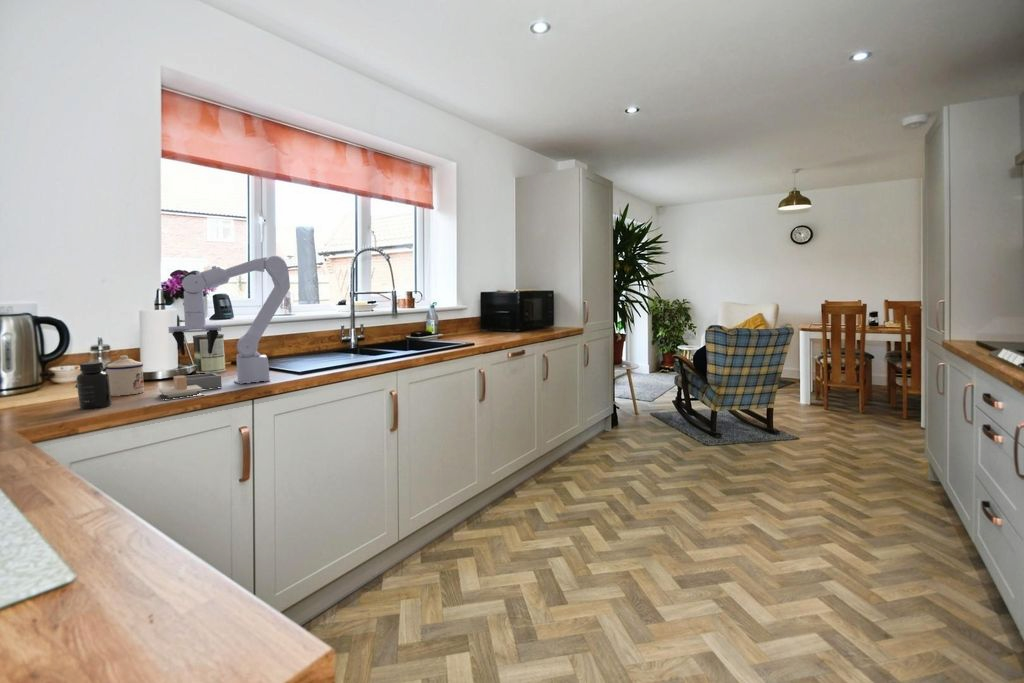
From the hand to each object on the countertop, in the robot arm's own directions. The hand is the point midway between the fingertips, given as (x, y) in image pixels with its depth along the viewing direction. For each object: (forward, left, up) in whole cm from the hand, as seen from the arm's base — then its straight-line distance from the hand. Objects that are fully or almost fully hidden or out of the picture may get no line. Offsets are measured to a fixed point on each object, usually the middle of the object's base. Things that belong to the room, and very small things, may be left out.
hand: (196, 354), depth 171 cm
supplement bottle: (+28, +16, -11) cm, 34 cm away
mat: (+8, +15, -10) cm, 20 cm away
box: (+1, +6, -10) cm, 12 cm away
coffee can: (-10, -32, -11) cm, 35 cm away
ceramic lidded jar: (+19, -2, -11) cm, 22 cm away
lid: (+8, +15, -9) cm, 19 cm away
